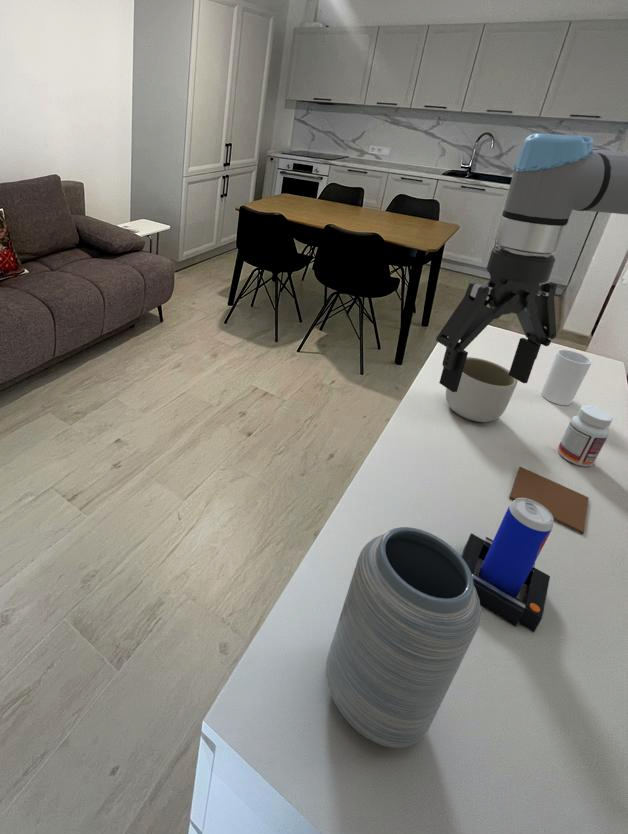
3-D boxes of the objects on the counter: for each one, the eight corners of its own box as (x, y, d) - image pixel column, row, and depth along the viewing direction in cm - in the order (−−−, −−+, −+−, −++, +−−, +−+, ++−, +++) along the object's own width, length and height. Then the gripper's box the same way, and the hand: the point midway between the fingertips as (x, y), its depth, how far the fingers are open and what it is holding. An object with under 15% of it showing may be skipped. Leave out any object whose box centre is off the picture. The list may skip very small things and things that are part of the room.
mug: (573, 410, 119) (593, 367, 114) (540, 399, 122) (558, 357, 117) (569, 391, 127) (587, 350, 122) (538, 381, 130) (555, 341, 125)
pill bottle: (589, 454, 104) (612, 409, 99) (595, 472, 99) (620, 426, 94) (554, 443, 106) (575, 399, 102) (559, 460, 101) (581, 414, 97)
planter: (451, 423, 110) (466, 382, 106) (433, 392, 121) (446, 353, 117) (510, 432, 109) (528, 390, 104) (487, 400, 120) (502, 361, 116)
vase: (448, 736, 55) (520, 598, 46) (365, 779, 51) (426, 637, 42) (377, 635, 65) (424, 504, 56) (302, 664, 61) (341, 529, 52)
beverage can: (520, 607, 70) (561, 531, 65) (480, 594, 72) (516, 518, 66) (512, 577, 75) (549, 503, 69) (474, 565, 76) (507, 491, 71)
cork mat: (587, 499, 92) (588, 497, 91) (582, 534, 84) (584, 532, 84) (519, 468, 98) (520, 466, 98) (508, 498, 90) (509, 496, 90)
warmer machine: (543, 585, 74) (551, 570, 73) (532, 637, 67) (541, 621, 65) (466, 542, 80) (473, 527, 79) (448, 585, 73) (455, 570, 72)
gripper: (564, 241, 76) (523, 364, 83) (431, 244, 69) (399, 378, 76) (616, 255, 69) (567, 387, 77) (474, 260, 62) (435, 404, 70)
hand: (483, 383), depth 77 cm, fingers open, 13 cm apart
